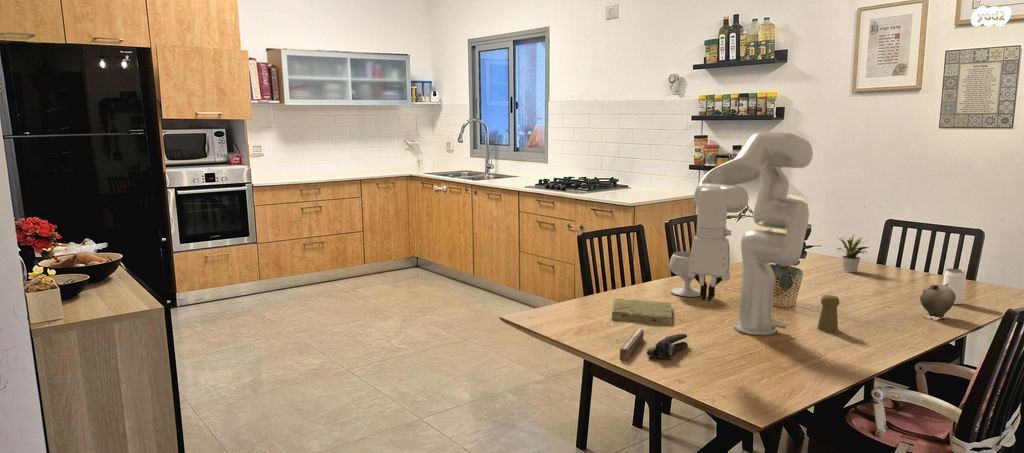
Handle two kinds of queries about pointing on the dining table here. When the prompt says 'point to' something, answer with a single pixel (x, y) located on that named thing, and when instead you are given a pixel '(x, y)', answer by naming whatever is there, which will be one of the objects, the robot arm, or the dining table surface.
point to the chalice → (682, 273)
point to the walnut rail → (631, 344)
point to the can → (955, 282)
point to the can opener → (667, 346)
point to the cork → (828, 314)
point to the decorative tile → (642, 311)
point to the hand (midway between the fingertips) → (707, 299)
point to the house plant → (851, 255)
